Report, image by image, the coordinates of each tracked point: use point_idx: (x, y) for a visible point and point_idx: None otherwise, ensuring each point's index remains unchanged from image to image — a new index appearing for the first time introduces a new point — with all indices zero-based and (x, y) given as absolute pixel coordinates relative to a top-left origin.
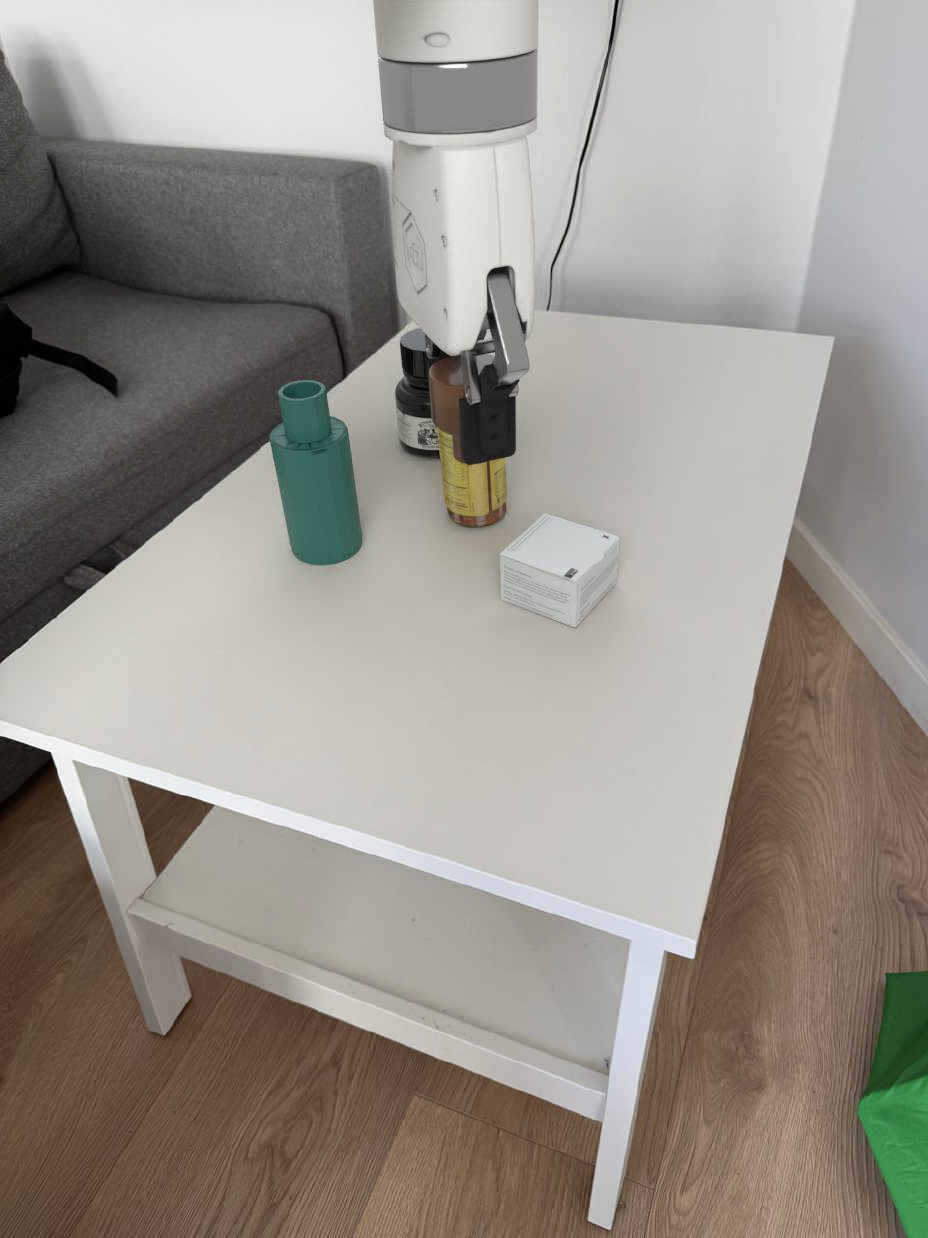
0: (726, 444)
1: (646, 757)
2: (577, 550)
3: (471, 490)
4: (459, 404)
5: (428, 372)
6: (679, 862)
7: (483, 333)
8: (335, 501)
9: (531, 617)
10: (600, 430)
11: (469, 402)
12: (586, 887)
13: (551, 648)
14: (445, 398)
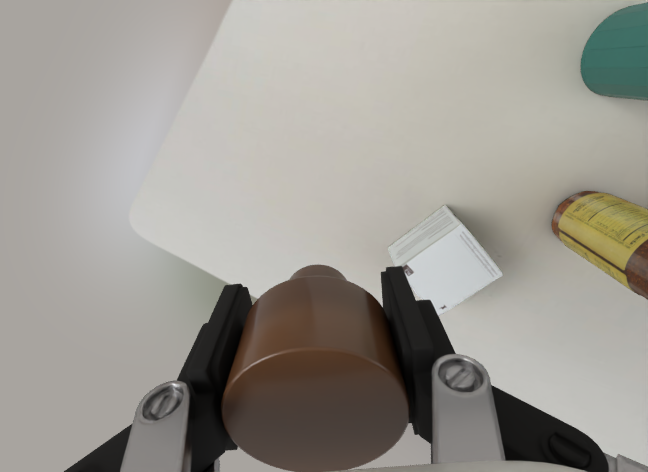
0: (549, 404)
1: (252, 249)
2: (435, 283)
3: (583, 224)
4: (208, 359)
5: (420, 329)
6: (169, 239)
7: None
8: (642, 69)
9: (413, 221)
10: (633, 341)
11: (169, 385)
12: (153, 183)
13: (372, 225)
14: (254, 340)
